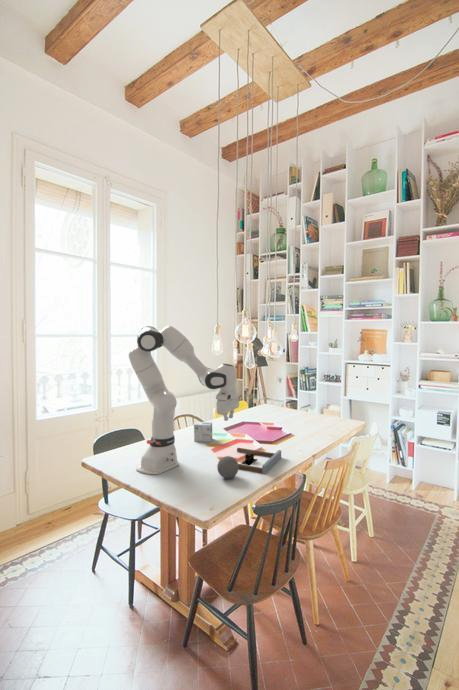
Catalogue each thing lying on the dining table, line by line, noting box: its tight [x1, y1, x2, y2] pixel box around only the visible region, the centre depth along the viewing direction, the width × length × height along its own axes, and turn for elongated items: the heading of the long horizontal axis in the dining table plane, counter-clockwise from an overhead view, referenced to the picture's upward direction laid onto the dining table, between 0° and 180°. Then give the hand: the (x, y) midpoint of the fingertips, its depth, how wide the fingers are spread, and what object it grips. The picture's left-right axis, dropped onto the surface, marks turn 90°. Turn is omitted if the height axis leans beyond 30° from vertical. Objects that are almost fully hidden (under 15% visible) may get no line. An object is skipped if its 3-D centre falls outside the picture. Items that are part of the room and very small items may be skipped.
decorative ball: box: [216, 455, 240, 480], centre depth 173 cm, size 10×10×10 cm
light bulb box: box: [193, 421, 213, 443], centre depth 228 cm, size 11×7×11 cm, turn 84°
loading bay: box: [236, 447, 282, 475], centre depth 193 cm, size 24×26×4 cm
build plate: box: [240, 453, 258, 466], centre depth 193 cm, size 12×7×5 cm, turn 148°
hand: (228, 419), depth 197 cm, fingers open, 4 cm apart
